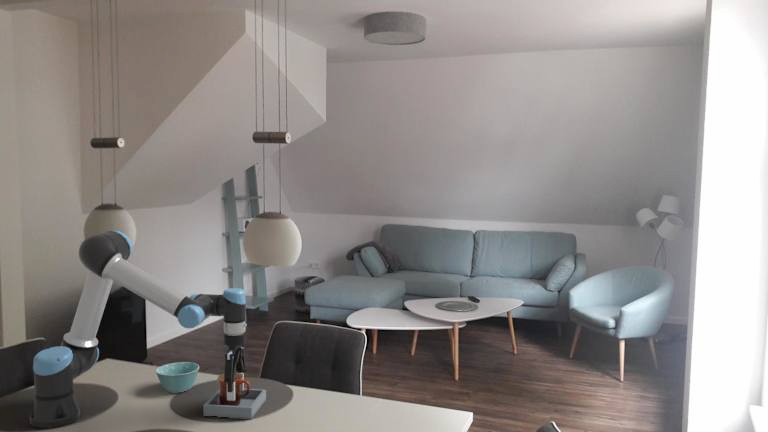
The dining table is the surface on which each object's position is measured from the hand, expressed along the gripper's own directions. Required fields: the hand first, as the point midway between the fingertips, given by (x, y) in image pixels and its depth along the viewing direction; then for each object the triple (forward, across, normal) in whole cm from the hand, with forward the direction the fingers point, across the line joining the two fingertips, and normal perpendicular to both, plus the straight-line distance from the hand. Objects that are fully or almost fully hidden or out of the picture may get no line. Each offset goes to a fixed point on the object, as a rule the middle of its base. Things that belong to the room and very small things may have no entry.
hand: (235, 395), depth 226 cm
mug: (+4, 0, 0) cm, 4 cm away
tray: (+5, 0, 0) cm, 5 cm away
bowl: (+5, +15, +28) cm, 32 cm away
